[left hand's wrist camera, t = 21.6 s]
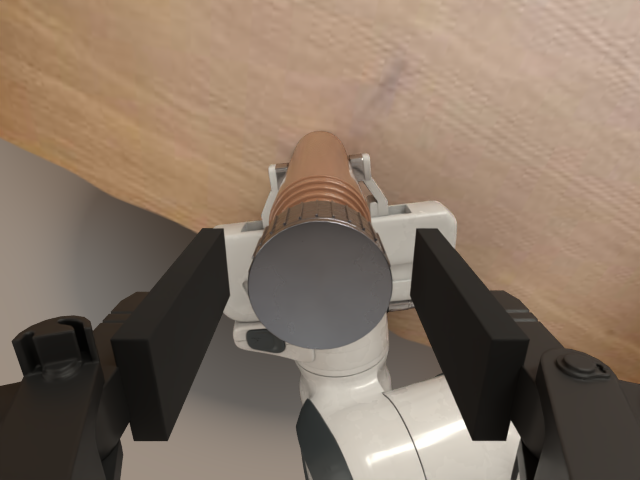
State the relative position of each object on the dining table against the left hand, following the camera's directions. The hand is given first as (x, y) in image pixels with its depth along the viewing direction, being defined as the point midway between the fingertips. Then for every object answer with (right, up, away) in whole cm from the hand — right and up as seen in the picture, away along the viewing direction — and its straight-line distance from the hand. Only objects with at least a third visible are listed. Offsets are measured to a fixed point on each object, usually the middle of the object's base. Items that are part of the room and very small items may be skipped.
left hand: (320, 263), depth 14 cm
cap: (0, -1, -2) cm, 2 cm away
